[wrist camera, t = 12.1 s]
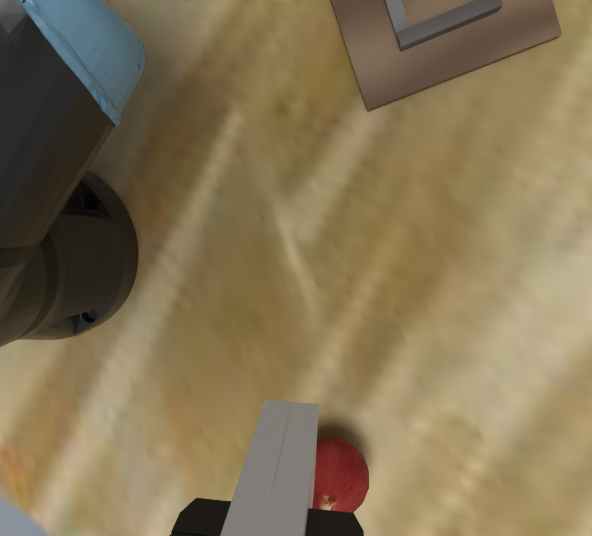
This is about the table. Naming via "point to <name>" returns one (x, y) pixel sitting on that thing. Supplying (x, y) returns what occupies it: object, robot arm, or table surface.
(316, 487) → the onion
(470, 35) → the brown board with rails
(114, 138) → the table surface
